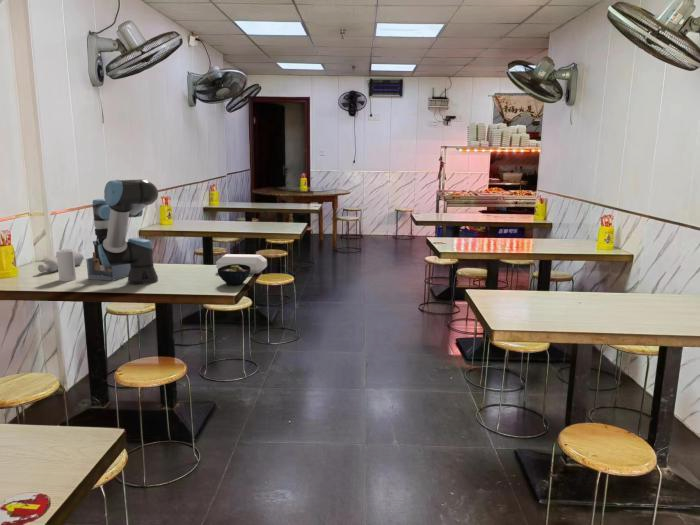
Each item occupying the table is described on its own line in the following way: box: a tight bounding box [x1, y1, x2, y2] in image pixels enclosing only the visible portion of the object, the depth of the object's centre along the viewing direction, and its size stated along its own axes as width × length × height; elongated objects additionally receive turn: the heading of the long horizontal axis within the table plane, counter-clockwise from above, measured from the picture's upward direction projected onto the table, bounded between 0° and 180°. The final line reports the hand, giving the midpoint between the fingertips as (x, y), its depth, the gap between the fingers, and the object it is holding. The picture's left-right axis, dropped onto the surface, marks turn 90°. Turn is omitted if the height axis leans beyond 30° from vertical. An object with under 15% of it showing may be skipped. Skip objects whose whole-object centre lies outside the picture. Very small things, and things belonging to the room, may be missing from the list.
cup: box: [55, 248, 77, 282], centre depth 294 cm, size 8×8×16 cm
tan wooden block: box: [92, 251, 111, 272], centre depth 298 cm, size 12×5×10 cm, turn 74°
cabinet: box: [85, 256, 130, 281], centre depth 302 cm, size 17×20×11 cm
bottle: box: [37, 249, 85, 273], centre depth 320 cm, size 9×9×30 cm
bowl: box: [217, 264, 251, 287], centre depth 286 cm, size 17×17×10 cm
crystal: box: [215, 253, 268, 274], centre depth 315 cm, size 14×10×28 cm
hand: (105, 269), depth 299 cm, fingers closed on tan wooden block, 4 cm apart
